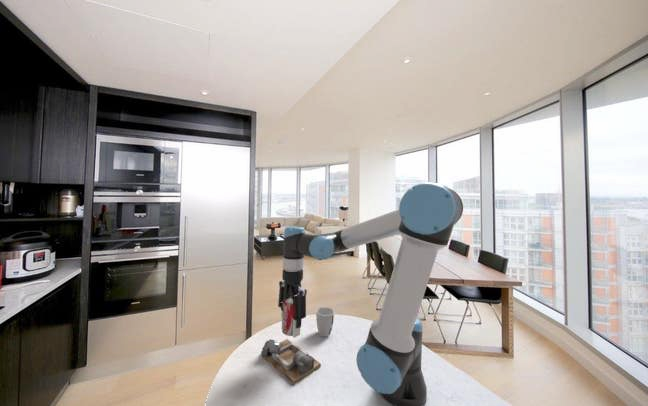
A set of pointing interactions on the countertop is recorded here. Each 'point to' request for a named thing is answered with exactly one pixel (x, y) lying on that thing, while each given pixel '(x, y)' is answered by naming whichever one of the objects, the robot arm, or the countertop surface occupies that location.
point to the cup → (324, 320)
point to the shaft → (271, 348)
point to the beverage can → (288, 317)
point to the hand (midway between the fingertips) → (290, 331)
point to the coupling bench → (293, 362)
